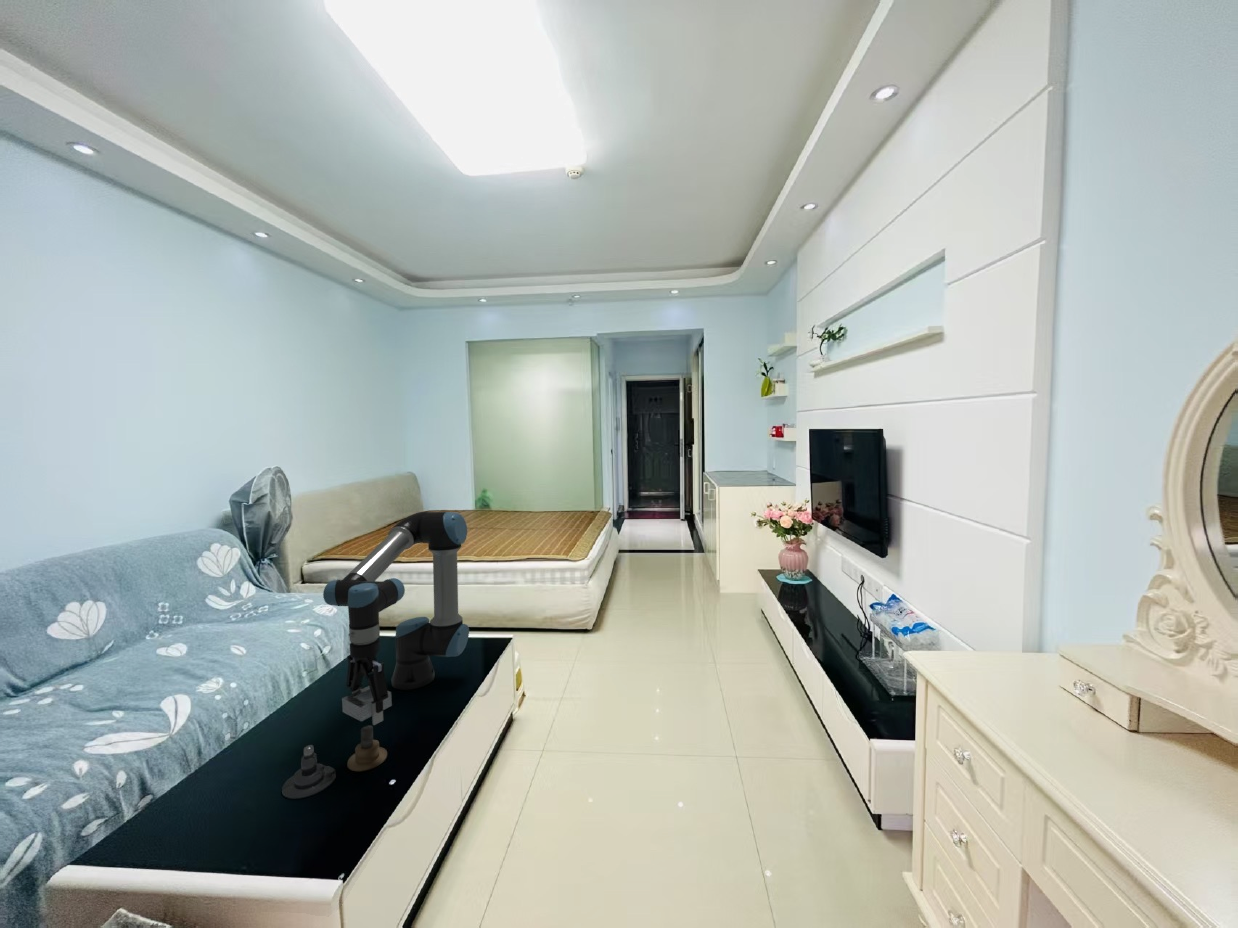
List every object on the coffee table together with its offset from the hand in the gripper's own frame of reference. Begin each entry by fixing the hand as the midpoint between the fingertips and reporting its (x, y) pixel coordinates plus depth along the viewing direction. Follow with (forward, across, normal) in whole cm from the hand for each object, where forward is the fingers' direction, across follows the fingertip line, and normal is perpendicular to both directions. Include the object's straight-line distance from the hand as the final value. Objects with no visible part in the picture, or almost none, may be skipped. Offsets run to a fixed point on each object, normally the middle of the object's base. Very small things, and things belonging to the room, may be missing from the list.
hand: (367, 717), depth 138 cm
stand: (+12, 0, -1) cm, 12 cm away
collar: (-2, 0, 0) cm, 2 cm away
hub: (+12, -4, -14) cm, 19 cm away
